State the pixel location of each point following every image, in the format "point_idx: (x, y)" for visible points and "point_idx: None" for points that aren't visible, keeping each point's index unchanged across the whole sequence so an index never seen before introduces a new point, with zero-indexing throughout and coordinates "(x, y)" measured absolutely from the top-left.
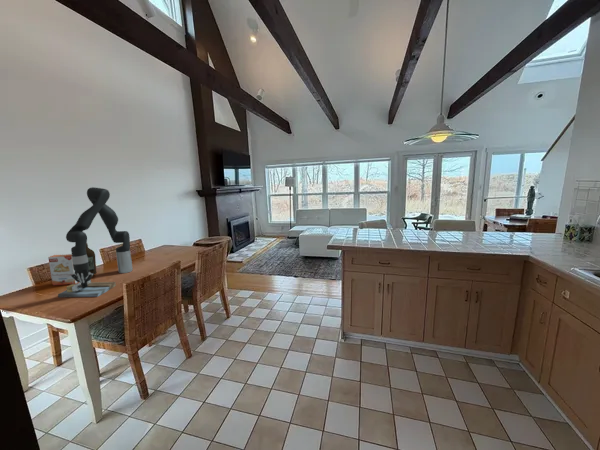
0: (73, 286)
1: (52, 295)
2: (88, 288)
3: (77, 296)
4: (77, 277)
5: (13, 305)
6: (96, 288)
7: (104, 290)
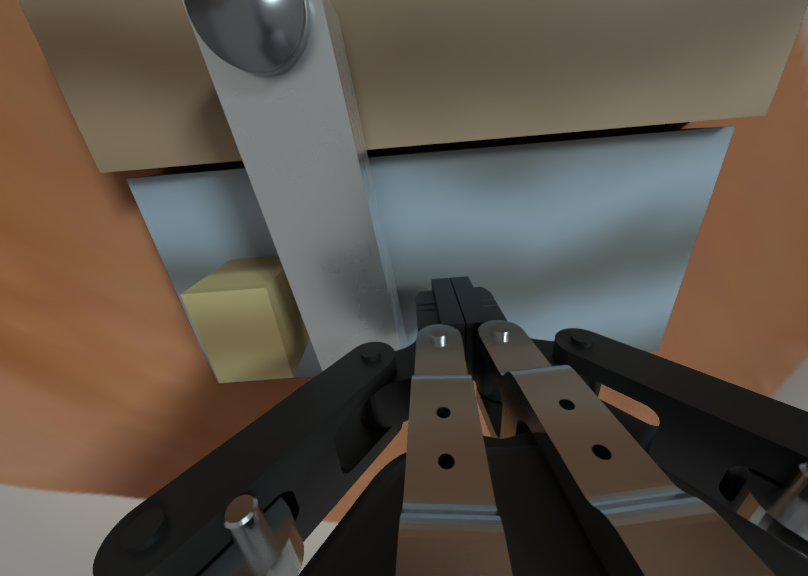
0: None
1: (110, 325)
2: (432, 210)
3: None
4: (327, 468)
5: (58, 482)
6: (554, 203)
7: (684, 238)
